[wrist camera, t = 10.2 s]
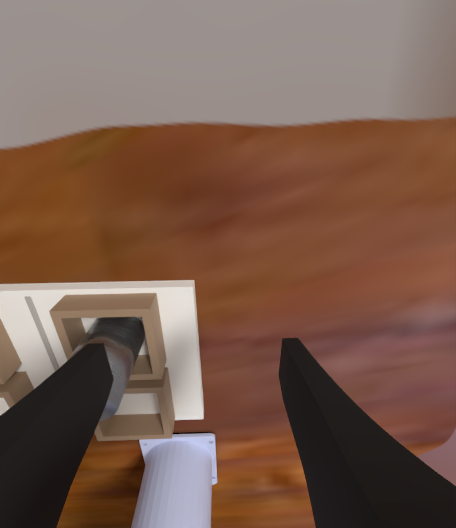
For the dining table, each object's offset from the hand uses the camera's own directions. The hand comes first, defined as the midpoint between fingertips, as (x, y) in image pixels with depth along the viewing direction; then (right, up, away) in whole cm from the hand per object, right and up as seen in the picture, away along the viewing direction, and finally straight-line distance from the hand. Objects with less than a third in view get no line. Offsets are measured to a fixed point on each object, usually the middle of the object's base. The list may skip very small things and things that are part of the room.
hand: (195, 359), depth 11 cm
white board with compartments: (-13, -4, +12) cm, 18 cm away
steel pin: (-7, -1, +10) cm, 12 cm away
